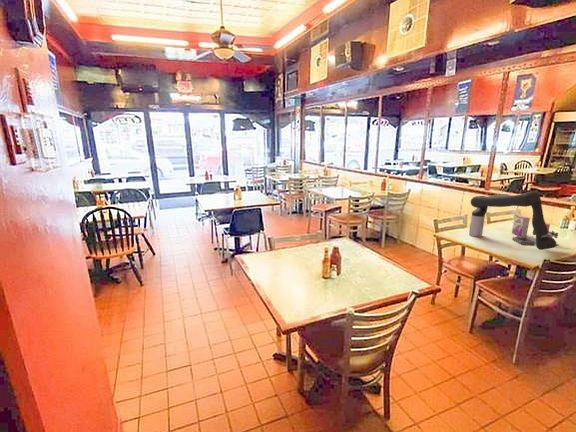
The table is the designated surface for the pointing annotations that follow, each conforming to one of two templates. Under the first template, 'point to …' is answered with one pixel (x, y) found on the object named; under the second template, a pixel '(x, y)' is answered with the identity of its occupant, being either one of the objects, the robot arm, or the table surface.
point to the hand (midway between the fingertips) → (544, 231)
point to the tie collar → (518, 239)
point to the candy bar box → (520, 225)
